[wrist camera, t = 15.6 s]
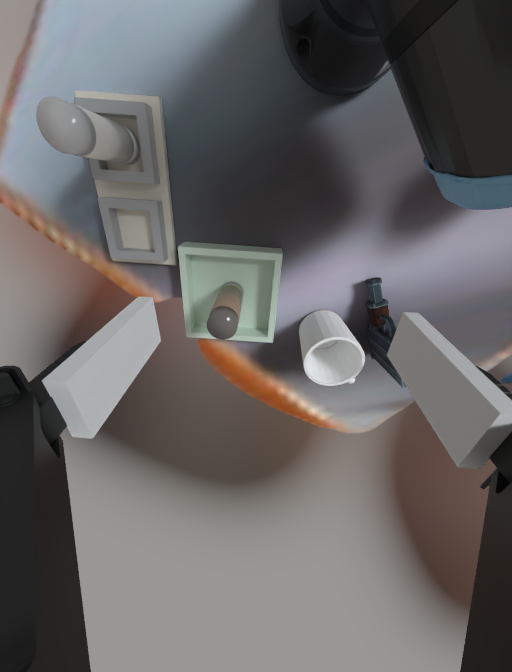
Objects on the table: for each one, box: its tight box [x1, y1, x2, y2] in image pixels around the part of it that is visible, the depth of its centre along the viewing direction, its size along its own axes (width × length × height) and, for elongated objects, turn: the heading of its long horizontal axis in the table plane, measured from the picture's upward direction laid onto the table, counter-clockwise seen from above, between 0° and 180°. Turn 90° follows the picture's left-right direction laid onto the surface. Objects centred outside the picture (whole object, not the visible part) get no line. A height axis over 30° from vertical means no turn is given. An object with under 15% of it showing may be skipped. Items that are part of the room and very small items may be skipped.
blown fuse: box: [207, 281, 244, 340], centre depth 37 cm, size 4×4×12 cm
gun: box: [366, 277, 406, 388], centre depth 38 cm, size 3×17×15 cm
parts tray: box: [178, 242, 283, 343], centre depth 42 cm, size 15×15×4 cm
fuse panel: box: [74, 90, 177, 265], centre depth 35 cm, size 20×10×3 cm, turn 176°
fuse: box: [37, 97, 140, 164], centre depth 27 cm, size 4×4×12 cm
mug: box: [299, 310, 365, 386], centre depth 42 cm, size 11×9×10 cm
